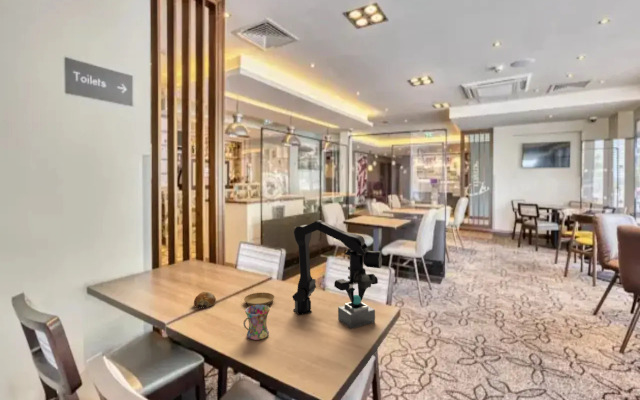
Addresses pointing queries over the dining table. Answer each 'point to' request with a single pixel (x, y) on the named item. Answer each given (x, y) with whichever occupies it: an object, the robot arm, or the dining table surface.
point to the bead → (356, 299)
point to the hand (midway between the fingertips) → (356, 301)
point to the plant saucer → (259, 299)
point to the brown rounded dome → (204, 300)
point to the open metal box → (356, 315)
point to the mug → (257, 321)
